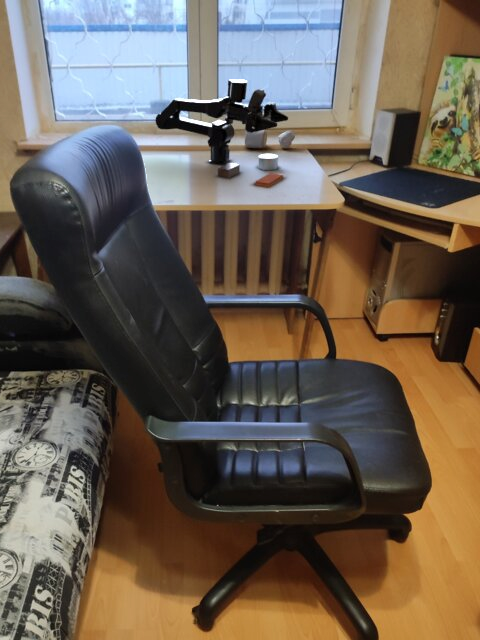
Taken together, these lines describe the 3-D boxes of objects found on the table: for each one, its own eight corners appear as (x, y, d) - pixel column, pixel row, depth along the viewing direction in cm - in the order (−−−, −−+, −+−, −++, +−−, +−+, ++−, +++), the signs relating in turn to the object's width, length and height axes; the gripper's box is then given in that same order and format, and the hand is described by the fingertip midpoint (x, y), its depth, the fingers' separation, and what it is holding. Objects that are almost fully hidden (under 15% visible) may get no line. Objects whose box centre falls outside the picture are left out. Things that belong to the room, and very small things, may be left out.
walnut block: (217, 176, 198) (217, 168, 196) (228, 171, 203) (229, 162, 201) (228, 178, 196) (228, 169, 194) (239, 172, 201) (239, 164, 199)
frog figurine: (292, 150, 224) (294, 132, 220) (275, 149, 226) (277, 131, 222) (295, 147, 229) (297, 129, 225) (279, 146, 230) (280, 128, 226)
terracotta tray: (253, 184, 189) (253, 181, 189) (269, 175, 197) (269, 172, 197) (267, 187, 187) (268, 184, 186) (283, 178, 195) (283, 174, 194)
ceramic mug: (263, 150, 225) (264, 130, 220) (244, 149, 227) (244, 129, 222) (268, 144, 233) (269, 125, 229) (249, 143, 235) (250, 124, 231)
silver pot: (254, 168, 205) (255, 157, 203) (263, 163, 210) (264, 152, 207) (272, 171, 202) (272, 159, 199) (280, 166, 207) (281, 155, 204)
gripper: (232, 94, 187) (274, 102, 181) (257, 83, 199) (296, 91, 194) (230, 128, 194) (270, 137, 189) (253, 116, 207) (291, 124, 201)
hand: (282, 121), depth 193 cm, fingers open, 9 cm apart
